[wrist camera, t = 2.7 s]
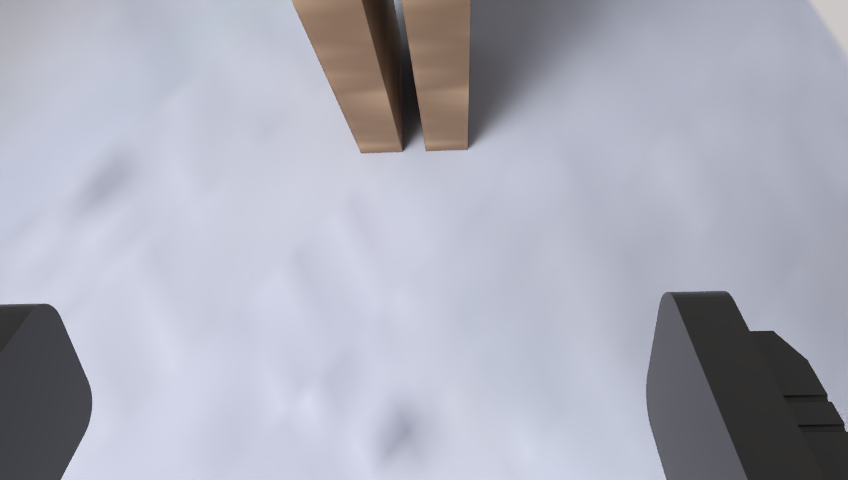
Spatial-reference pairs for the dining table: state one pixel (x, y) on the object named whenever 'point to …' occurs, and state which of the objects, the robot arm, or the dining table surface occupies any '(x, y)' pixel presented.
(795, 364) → the robot arm
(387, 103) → the brown wooden slotted block
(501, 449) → the dining table surface
